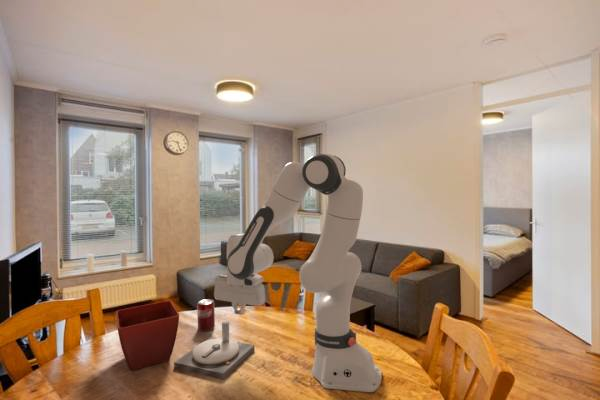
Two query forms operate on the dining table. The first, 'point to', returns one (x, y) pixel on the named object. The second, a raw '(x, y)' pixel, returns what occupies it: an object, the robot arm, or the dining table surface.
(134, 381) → the dining table surface
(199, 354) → the dial
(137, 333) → the plant pot
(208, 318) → the soda can
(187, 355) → the dial base
